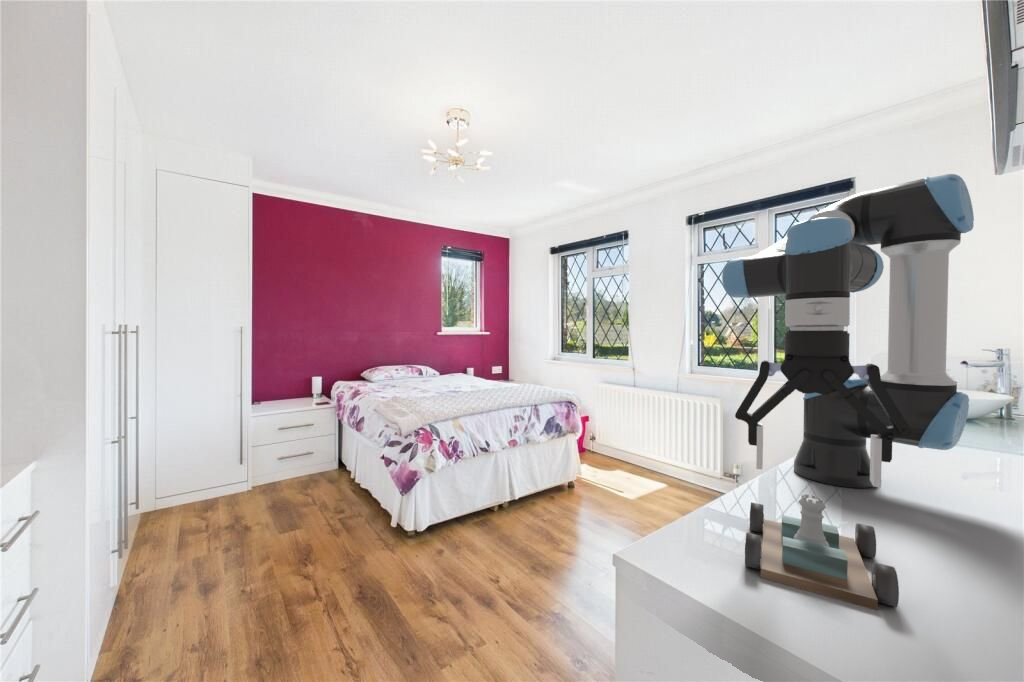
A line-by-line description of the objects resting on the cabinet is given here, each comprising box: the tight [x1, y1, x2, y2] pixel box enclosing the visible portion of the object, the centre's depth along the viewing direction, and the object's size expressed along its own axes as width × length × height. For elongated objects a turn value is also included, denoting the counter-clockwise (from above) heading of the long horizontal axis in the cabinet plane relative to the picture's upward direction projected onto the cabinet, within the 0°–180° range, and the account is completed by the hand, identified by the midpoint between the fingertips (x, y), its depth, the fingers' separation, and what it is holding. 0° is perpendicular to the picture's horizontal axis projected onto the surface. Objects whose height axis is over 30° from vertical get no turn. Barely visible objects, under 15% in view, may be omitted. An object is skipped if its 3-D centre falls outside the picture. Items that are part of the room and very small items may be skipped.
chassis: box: [744, 502, 900, 611], centre depth 60 cm, size 18×16×4 cm
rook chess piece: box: [793, 493, 829, 547], centre depth 60 cm, size 4×4×8 cm
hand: (813, 475), depth 60 cm, fingers open, 13 cm apart
